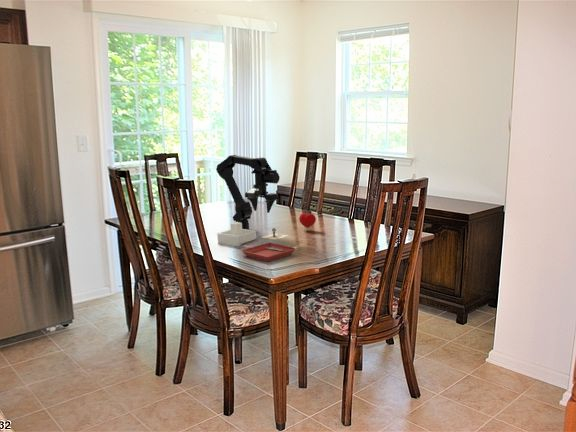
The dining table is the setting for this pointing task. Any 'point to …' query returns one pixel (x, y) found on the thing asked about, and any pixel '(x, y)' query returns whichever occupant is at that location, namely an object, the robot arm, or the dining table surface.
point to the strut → (236, 228)
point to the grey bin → (236, 237)
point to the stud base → (274, 235)
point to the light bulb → (307, 220)
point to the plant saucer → (268, 251)
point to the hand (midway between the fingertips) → (261, 211)
